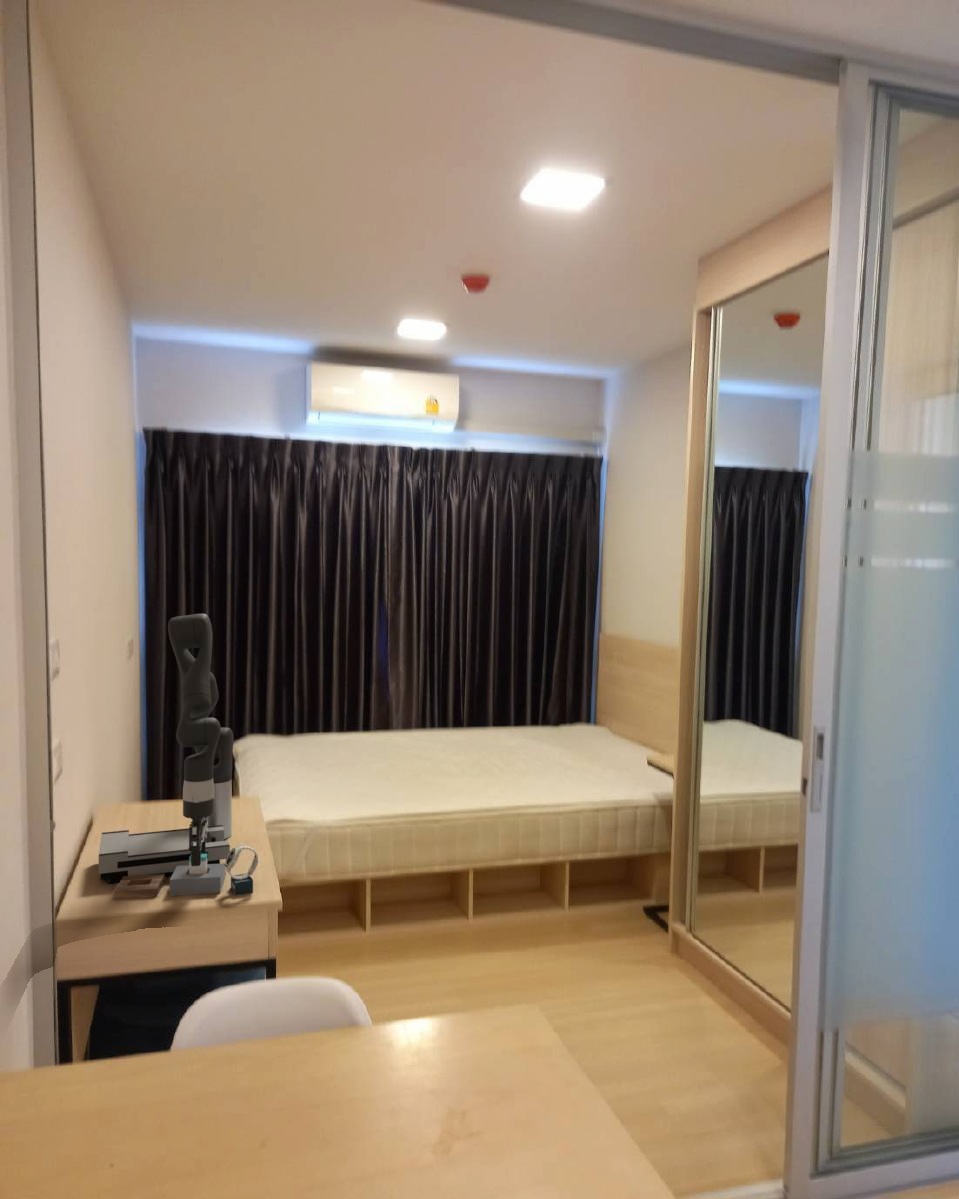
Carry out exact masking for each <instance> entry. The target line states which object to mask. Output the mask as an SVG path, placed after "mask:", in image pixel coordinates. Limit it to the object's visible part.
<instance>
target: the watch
mask: <svg viewBox="0 0 959 1199" xmlns="http://www.w3.org/2000/svg"><path fill="white" fill-rule="evenodd" d="M242 850H250V851H252V852H253V854H254V856H253V860H252V863H251V865H250V867H249V868H248V870H247V872H245V873H240V874H233V873H231V870H232V868H233V867H234V866H235V865H236V863H237V862H238V861H239V857H240V854H241V852H242ZM224 863H225V871H227V873H228V875H229V876H230V890H232V892H233V894H234V896H239V895H246V894H252V893H254V879H253V878H252V876H253V875H254V872H255V871H256V870H257V866H258V864H259V856H258V854H257V851H255V849H254V848H253V847H252V846H249V845H245V844H244V845H243V844H242V845H238V846H236V847H234V848H232V849H230V852H229V854H228V856H227V858H226V859H225V862H224Z"/></svg>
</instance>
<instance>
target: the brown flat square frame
mask: <svg viewBox="0 0 959 1199" xmlns="http://www.w3.org/2000/svg"><path fill="white" fill-rule="evenodd" d="M165 879H166V878H165V874H159V875H141V876H124V877H123V878H122V879H121V881H120V882H119V884H116V887H115V888H114V890H113V900H120V899H135V898H136V899H138V898H155V897H158V895H159V893H160V892H161V890H162V887H163V886H164V884H165V882H166V881H165Z"/></svg>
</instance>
